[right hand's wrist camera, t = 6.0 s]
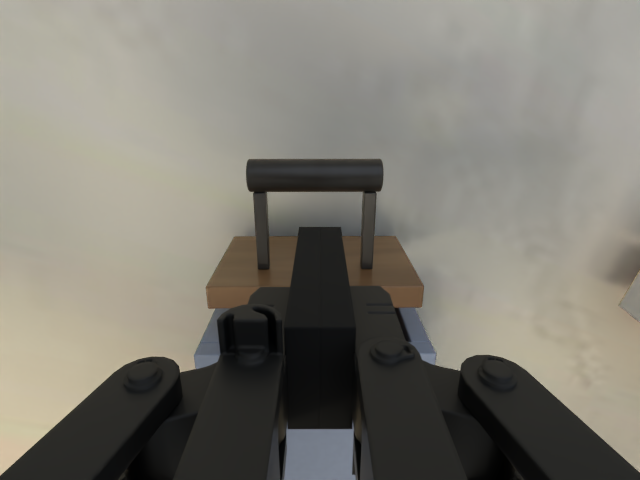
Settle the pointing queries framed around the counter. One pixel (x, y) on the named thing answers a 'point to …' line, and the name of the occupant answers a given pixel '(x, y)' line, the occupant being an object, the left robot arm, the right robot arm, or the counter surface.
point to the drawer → (279, 251)
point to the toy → (632, 299)
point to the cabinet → (319, 444)
